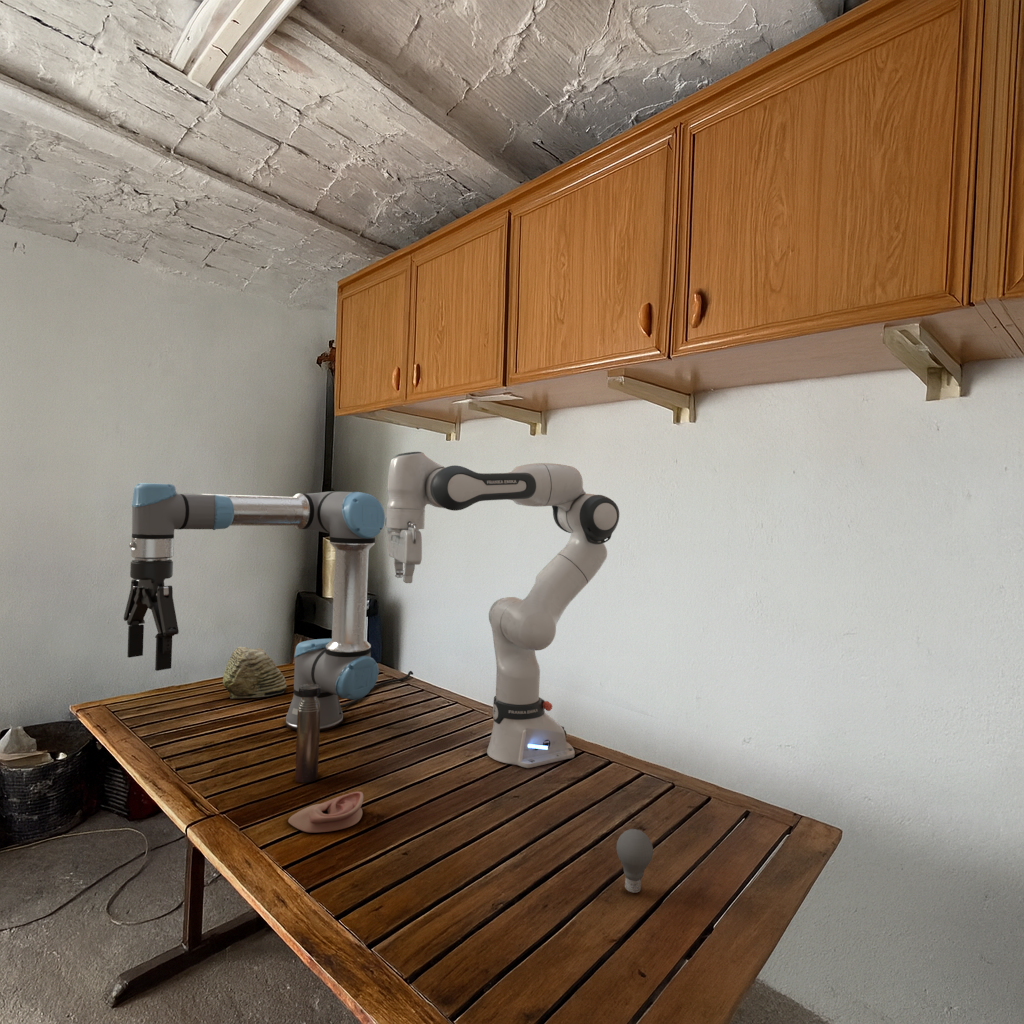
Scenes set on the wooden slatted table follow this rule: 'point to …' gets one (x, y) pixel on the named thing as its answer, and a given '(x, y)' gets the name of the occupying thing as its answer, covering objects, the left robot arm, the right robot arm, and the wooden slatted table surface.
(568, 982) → the wooden slatted table surface
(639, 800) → the wooden slatted table surface
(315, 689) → the cap
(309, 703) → the bottle
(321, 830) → the anatomical model
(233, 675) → the fossil
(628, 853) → the light bulb
